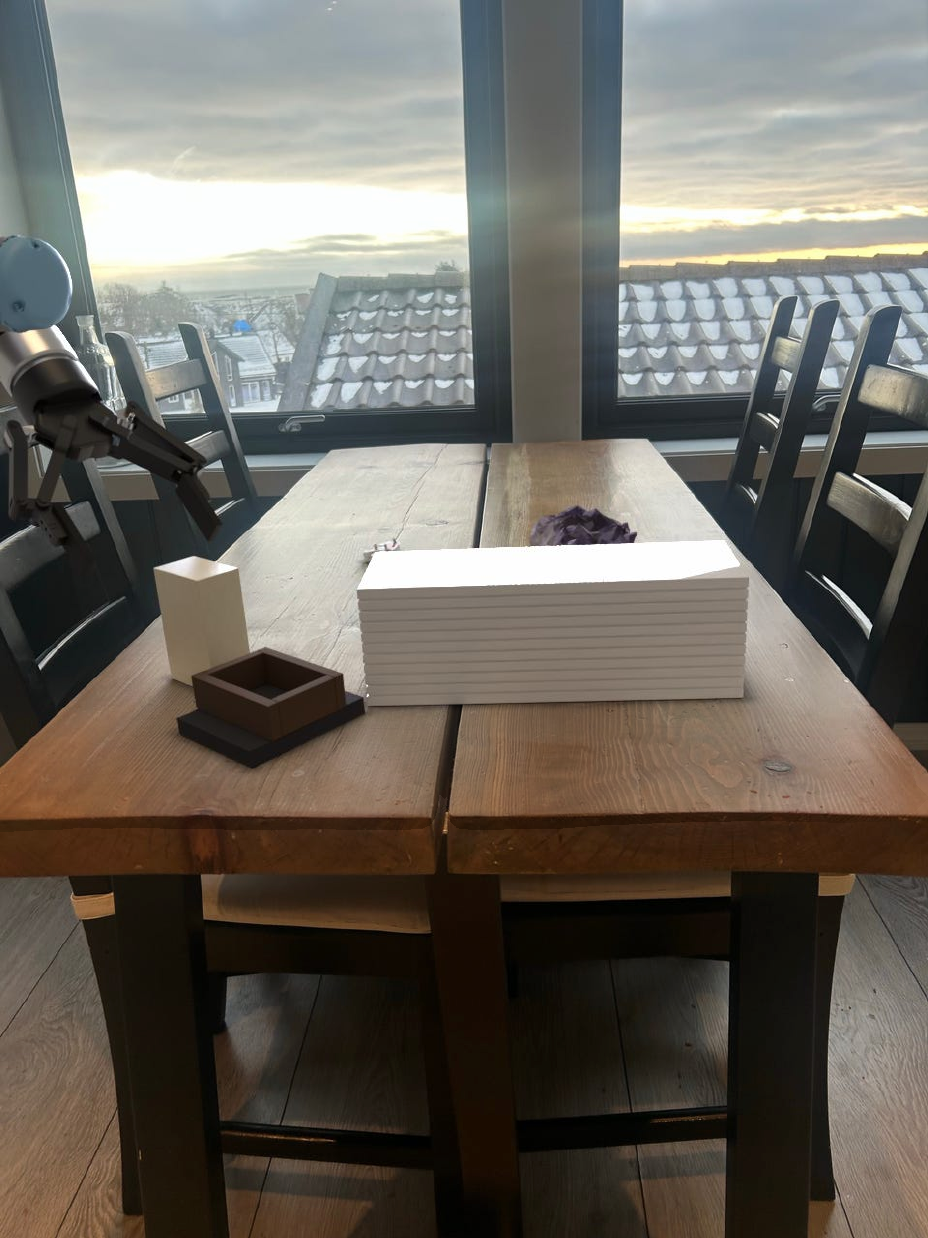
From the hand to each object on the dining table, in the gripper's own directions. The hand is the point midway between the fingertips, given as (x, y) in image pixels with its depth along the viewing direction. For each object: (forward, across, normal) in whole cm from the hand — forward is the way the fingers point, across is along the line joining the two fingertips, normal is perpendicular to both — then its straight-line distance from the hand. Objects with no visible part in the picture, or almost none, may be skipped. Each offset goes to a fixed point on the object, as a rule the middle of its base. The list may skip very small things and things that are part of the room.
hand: (155, 550), depth 94 cm
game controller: (+6, -37, -11) cm, 39 cm away
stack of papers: (+31, -18, +15) cm, 39 cm away
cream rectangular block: (+13, 0, -4) cm, 13 cm away
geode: (+24, -39, +8) cm, 47 cm away
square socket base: (+22, +3, +5) cm, 22 cm away
